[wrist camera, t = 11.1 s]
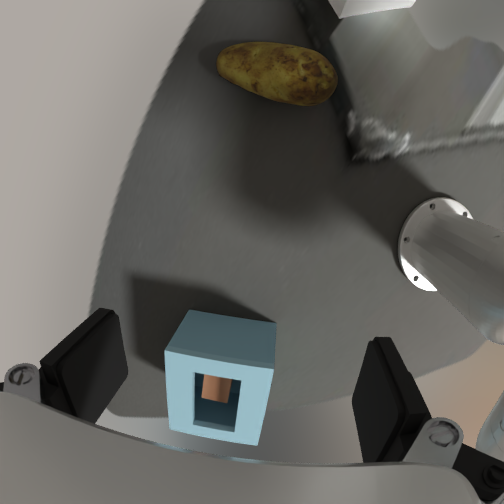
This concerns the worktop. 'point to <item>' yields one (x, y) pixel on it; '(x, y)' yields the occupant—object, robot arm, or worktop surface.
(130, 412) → the worktop surface
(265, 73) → the potato
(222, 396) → the brown wooden block
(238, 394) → the box
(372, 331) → the worktop surface
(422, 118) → the worktop surface
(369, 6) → the milk
